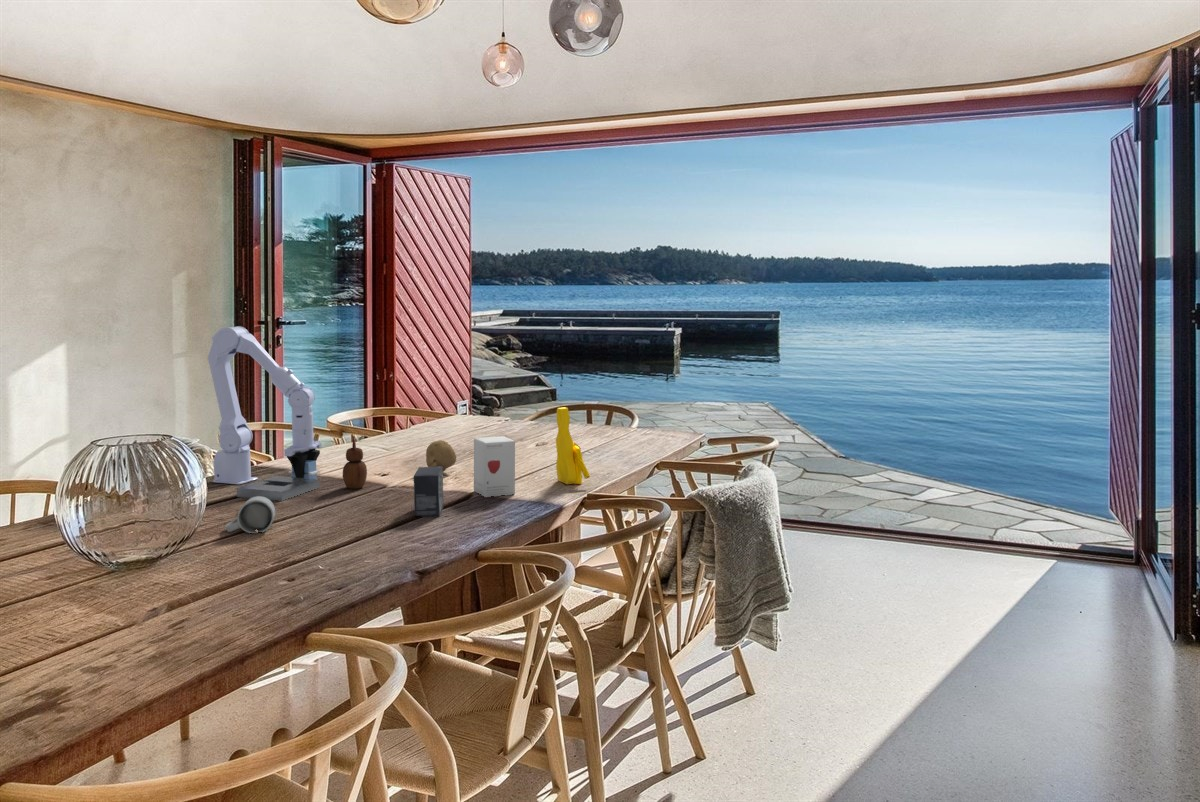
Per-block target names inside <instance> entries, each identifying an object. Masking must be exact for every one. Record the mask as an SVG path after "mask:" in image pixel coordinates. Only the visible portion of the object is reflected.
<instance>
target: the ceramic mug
mask: <svg viewBox="0 0 1200 802" xmlns="http://www.w3.org/2000/svg"><path fill="white" fill-rule="evenodd" d="M275 515H276V509H275V505H274V503H273V502H272V500H269V499H267V498H265V497H262V496H257V497H253V498H248V500H246V501H245V502H244V504H243V505H241V506H240V508H239V510H238V513H237V517H236V518H235V519H233V520H232V521H230V522H227V524H226V525H225V526H224V528H225V530H226V531H227V533H231V532H233V531H236V530H239V529H240V528H241V529H242V530H243V532H245V533H248V534H250V533H258V532H262V533H264V532H266V531H268V530H269V528H270V527H272V525H273V523H274V519H275ZM256 529H257V530H258V532H256V531H255V530H256Z"/></svg>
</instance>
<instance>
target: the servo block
mask: <svg viewBox="0 0 1200 802" xmlns="http://www.w3.org/2000/svg"><path fill="white" fill-rule="evenodd" d="M319 473H321V471H320V470H317V460H316V461H314V460H306V462H305V468H304V478H307V479H318V477H317V474H319ZM288 474H291V477H295V478H296V476H295V473H294V470H293V467H292V466H291V470H288Z"/></svg>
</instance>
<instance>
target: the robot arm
mask: <svg viewBox="0 0 1200 802" xmlns="http://www.w3.org/2000/svg"><path fill="white" fill-rule="evenodd" d="M211 338H212V340H211V341H212V343H211V347H210V349H209V353H208V355H207V358H208V359H207V361H208V365H209V369H210V374H211V377H212V382H213V387H214V391H215V395H216V399H217V404H218V408H219V413H220V418H221V420H220V423H219V426H218V429H219V437H218V443H219V446H220V448H221V449H220V450H218V451H217V452H216V453H215V455H214V458H213V471H214V472H213V473H214V477H213V478H214V479H213V480H212V482H213V483H217V484H218V483H220V484H230V485H243V484H246V483H250V482H252V481H256V480H258V479H259V478H258V476H252V470H251V469H252V467H251V447H250V444H251V443H252V441H253V431H252V430H251V428H250V427H249V426H248V424H247V420H246V418H244V416H243V415H242V412H241V407H240V403H239V398H238V394H237V390H236V384H235V379H234V376H233V372H232V367H231V360H232V359H233V358H234V356H235V355H236V354H237V353H241V354H246V355H249V356H250V357H251V358H252V359H253V360H255V361H256V363H257V364H259V366H261V367H262V368H263V369H264V370H265V371H266V372H267V373H269V375H270V379H269V380H270V382H271V383H272V384H273V385H274V386H275V387H276V388H277V389H278V390H279V391H280V393H282V394H283V396H284V397H286V398H287V403H288V405H289V406H290V408H291V428H292V429H291V430H292V431H291V434H292V435H291V436H292V438H291V439H292V445H290V446H289V447H286V448H284V449H283V450H284V452H283V453H284V456H285V457H286V458H287V459H288V461H289V463H290V464H291V468H292V467H293V470H294V473H295V476H296V478H304V468H305V462H306V460H314V461H316V462H317V460H318V458H319V455H320V454H321V451H320V449H322V441H320V440H314V437H315V435H314V413H313V404H314V402H315V400H316V397H315V395H316V394H315V392H314V391H313V390H312V388H311V387H309V386H306V384H305V383H304V382H301V381H300V380H299V379H298V378H297V376H295V375H294V374H293V373H294V370H293V369H292V368H290V369H289V368H288V367H286V366H280V365H279V364H278V363H277V362H276V361H275V360H274V359H273V357H272V356H271V355H270V354H269V353H268V352H267V351H266V349H265V348H264V347H263V345H261V343H260V342H259V341H258V340H257V339H256V337H255V336H254V335H253V334H252V333H250V332H249V330H248V329H246V327H243V326H242V325H241V326H239V325H237V326H232V327H224V326H223V327H221V328H220V329H218V330H217V331H216V333H214V335H213V336H212V337H211ZM318 449H319V450H318Z"/></svg>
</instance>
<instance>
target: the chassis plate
mask: <svg viewBox="0 0 1200 802" xmlns="http://www.w3.org/2000/svg"><path fill="white" fill-rule="evenodd" d="M317 488H318V489H320V480H319V479H318V478H317V479H307V478H295V477H292V476H280V475H275V476H271V477H268V478H265V479H262V481H260V480H259V481H255V482H251V483H248V484H245V485H241V486H238V487H236V497H237V498H242V497H244V498H243V499H250V498H253V497H257V496H262V497H265V498H267V499H269V500H270V501H275V500H278V501H279V502H283V500H284V501H286V500H285V499H287V500H289V499H288V498H290V499H292V498H294V496H295V497H298V496H300V494H301V495H304V494H306V493H305V492H307V493H309V492H308V491H310V492H312V491H311V490H313V491H315V490H314V489H316V490H318V489H317ZM303 493H304V494H303ZM297 495H298V496H297ZM291 497H292V498H291Z"/></svg>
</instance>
